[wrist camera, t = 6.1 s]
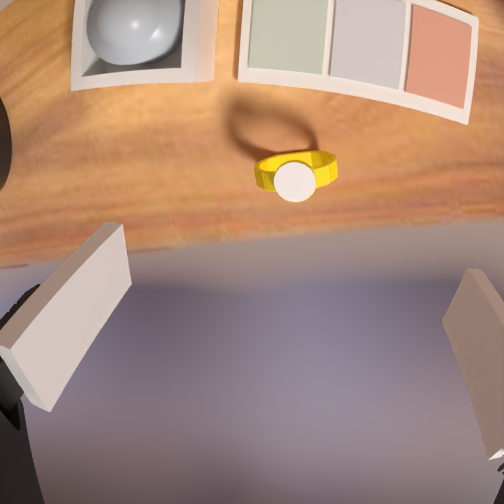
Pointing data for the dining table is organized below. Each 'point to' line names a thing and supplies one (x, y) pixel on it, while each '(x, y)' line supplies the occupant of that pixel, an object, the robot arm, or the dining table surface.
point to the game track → (365, 50)
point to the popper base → (164, 71)
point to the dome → (135, 30)
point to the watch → (296, 173)
